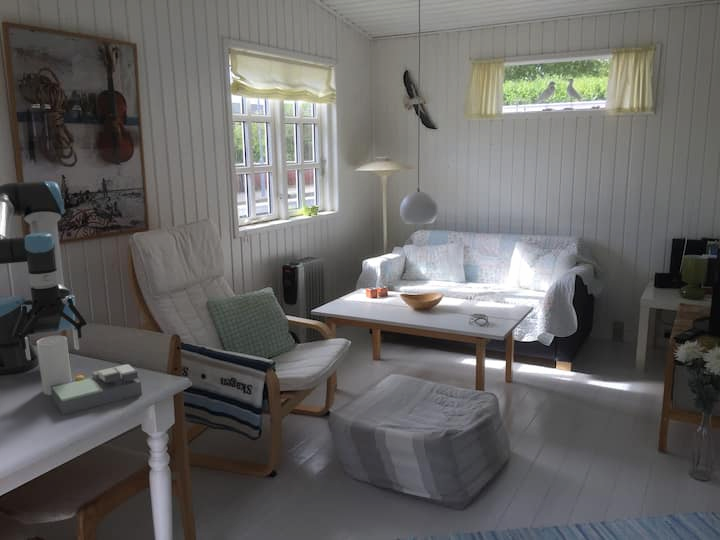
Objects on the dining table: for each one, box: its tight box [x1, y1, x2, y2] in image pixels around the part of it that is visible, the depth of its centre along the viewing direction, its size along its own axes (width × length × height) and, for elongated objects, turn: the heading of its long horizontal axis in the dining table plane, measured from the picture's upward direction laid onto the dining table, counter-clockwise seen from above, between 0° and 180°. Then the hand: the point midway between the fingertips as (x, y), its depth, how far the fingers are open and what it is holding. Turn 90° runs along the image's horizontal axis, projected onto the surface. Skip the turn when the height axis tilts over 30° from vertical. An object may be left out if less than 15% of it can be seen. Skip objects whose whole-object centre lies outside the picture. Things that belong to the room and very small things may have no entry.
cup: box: [36, 335, 73, 396], centre depth 193 cm, size 8×8×16 cm
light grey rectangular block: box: [97, 367, 121, 383], centre depth 188 cm, size 2×4×8 cm
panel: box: [50, 363, 143, 415], centre depth 188 cm, size 14×22×7 cm, turn 128°
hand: (53, 353), depth 191 cm, fingers open, 13 cm apart
